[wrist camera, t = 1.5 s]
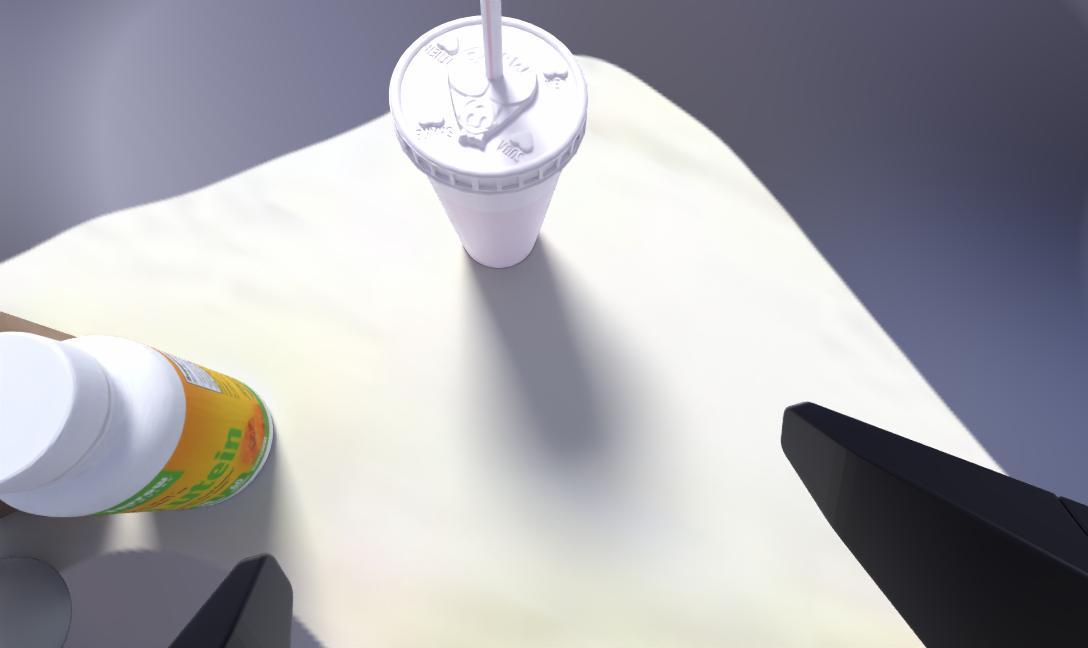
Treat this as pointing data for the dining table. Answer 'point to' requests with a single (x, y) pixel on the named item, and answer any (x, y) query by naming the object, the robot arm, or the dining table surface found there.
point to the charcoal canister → (32, 605)
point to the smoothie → (490, 125)
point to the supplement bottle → (121, 428)
